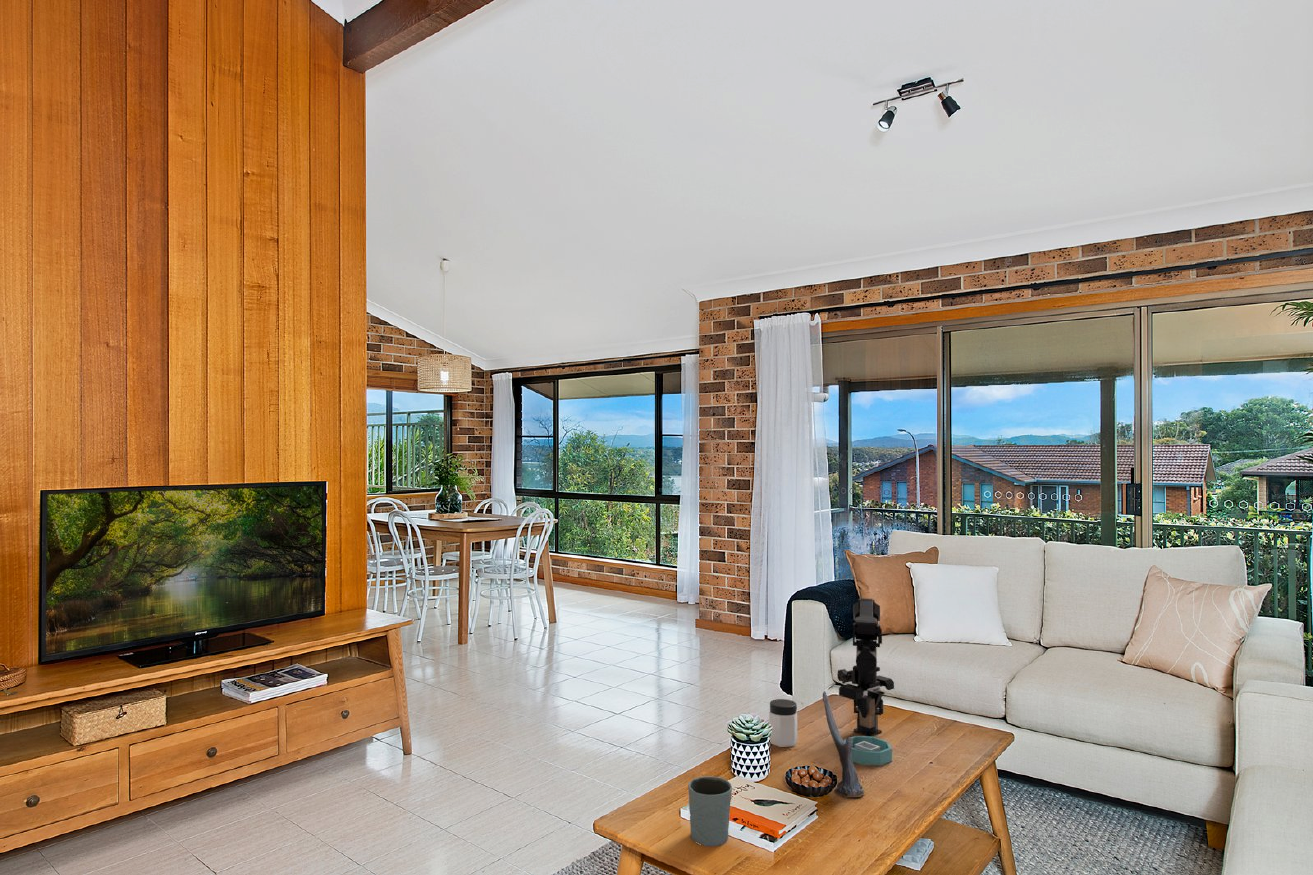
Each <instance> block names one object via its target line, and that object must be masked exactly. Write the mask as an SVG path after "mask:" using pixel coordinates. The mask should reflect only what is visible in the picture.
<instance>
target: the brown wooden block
mask: <svg viewBox="0 0 1313 875" xmlns="http://www.w3.org/2000/svg"><path fill="white" fill-rule="evenodd" d="M859 714H860V725H861V726H864V727H867V728H872V727H875V699H873V698H871V700H870V704H869V708H868V713H867V716H866V718H862V715H861V712H860V710H859Z"/></svg>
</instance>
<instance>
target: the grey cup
mask: <svg viewBox="0 0 1313 875" xmlns="http://www.w3.org/2000/svg"><path fill="white" fill-rule="evenodd" d="M687 785H688V787H687V788H688V804H689V806H688V807H689V808H688V809H689V815H690V816H689V825H690V826H689V827H690V838H691V840H692V841H693V842H694V841H695V842H697V843H699V844H701V845H700V846H702V845H704V846H703V847H718V846H721V845H723V844H726V843H727V841H728V839H729V827H730V813H731V803H732V802H731V801H732V792H733V785H732V784H731V783H730V782H729V781H728V780H726V779H725V778H721V777H717V776H711V775H710V776H699V777H696V778H693V779H691V780H690V781H689V783H688V784H687ZM695 842H694V843H695ZM697 843H696V844H697ZM699 844H698V845H699Z"/></svg>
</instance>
